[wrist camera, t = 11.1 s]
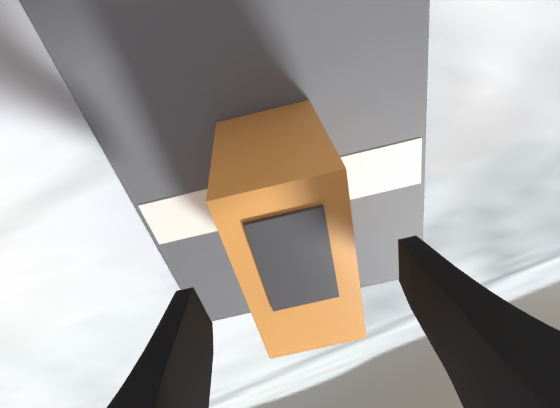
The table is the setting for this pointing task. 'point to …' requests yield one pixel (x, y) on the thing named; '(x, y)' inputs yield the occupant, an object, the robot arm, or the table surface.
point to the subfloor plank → (248, 109)
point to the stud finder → (287, 227)
